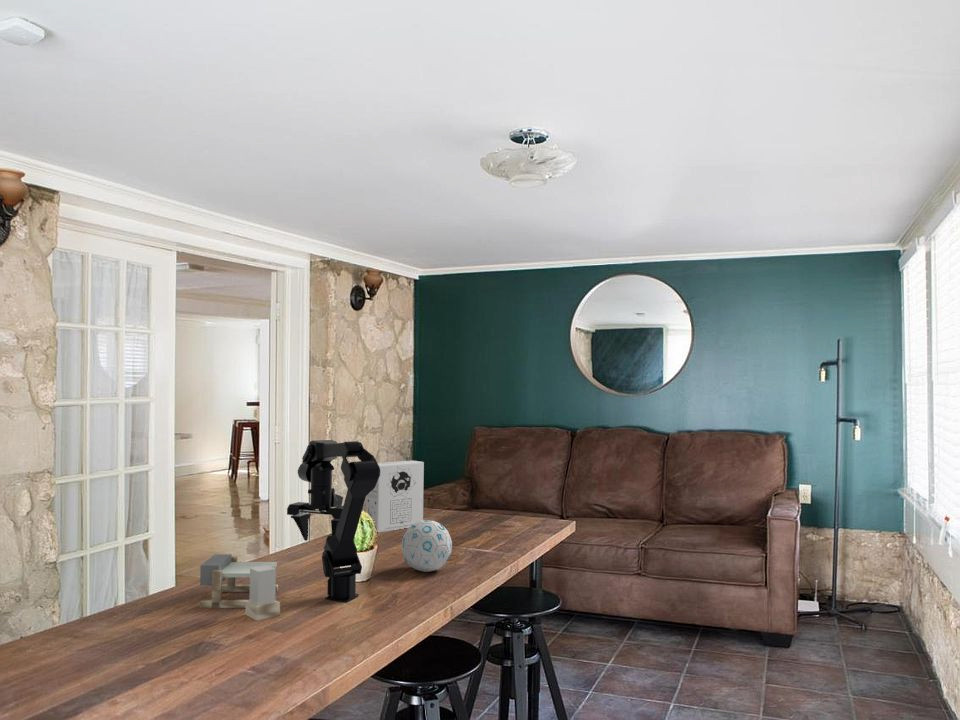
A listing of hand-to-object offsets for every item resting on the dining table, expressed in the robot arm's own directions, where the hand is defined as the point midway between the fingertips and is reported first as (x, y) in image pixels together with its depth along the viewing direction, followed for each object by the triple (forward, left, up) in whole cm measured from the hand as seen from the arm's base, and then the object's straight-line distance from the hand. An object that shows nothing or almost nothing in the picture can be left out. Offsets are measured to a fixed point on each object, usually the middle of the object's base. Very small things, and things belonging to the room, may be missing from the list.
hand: (320, 541), depth 213 cm
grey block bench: (+12, +19, -12) cm, 25 cm away
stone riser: (-2, +28, -12) cm, 31 cm away
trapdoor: (+12, +19, -7) cm, 23 cm away
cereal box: (+19, -81, -12) cm, 84 cm away
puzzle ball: (-20, -27, -12) cm, 36 cm away
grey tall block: (-2, +28, -9) cm, 30 cm away
